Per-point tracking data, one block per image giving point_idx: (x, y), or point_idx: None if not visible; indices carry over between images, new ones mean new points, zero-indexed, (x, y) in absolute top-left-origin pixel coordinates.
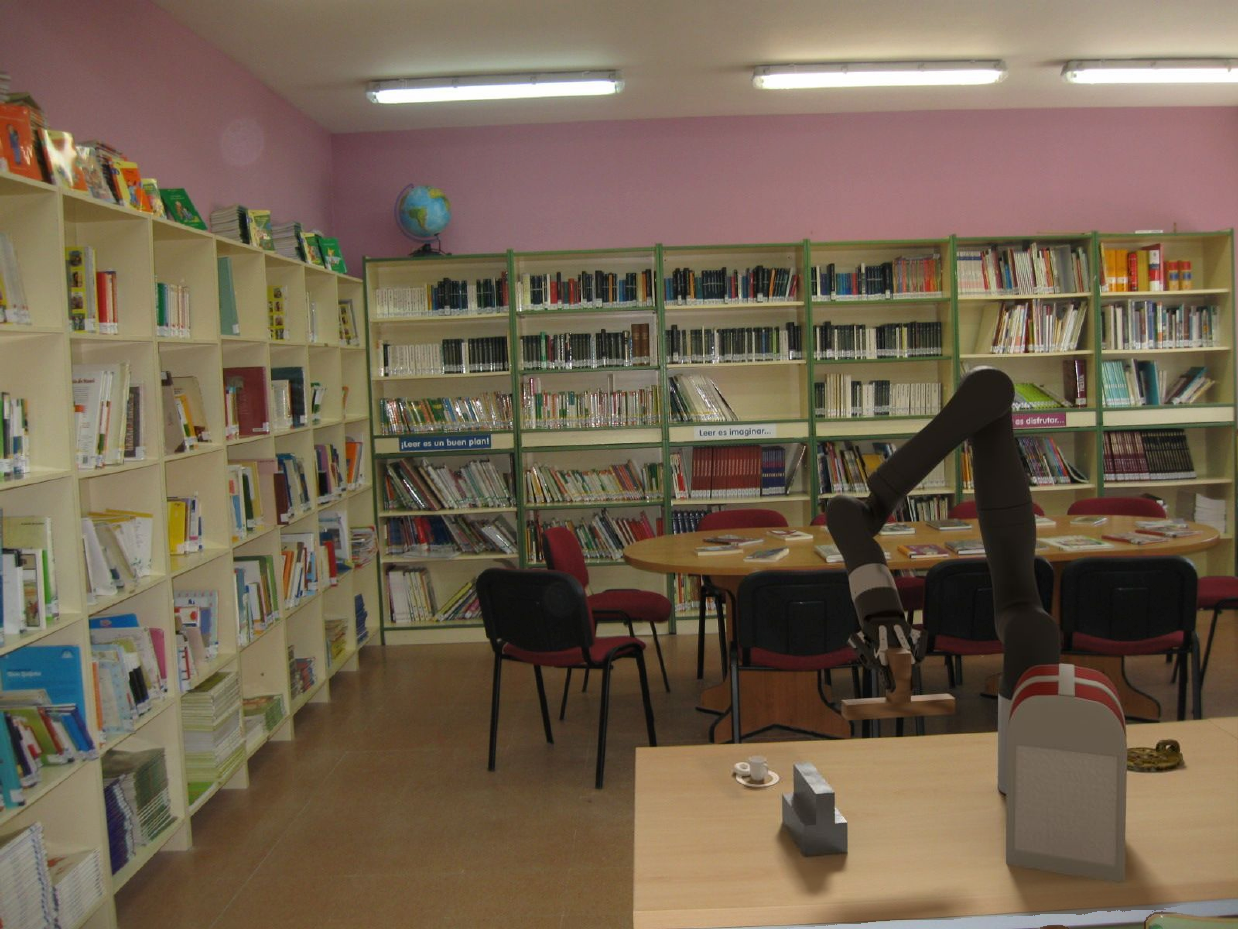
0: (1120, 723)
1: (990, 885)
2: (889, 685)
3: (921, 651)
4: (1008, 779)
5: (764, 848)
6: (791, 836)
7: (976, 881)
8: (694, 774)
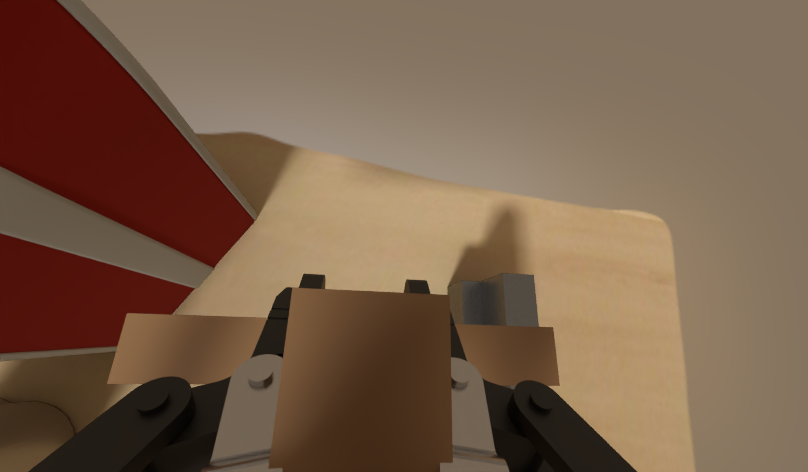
0: None
1: (312, 176)
2: None
3: (97, 452)
4: (208, 152)
5: (545, 323)
6: None
7: (323, 187)
8: None
